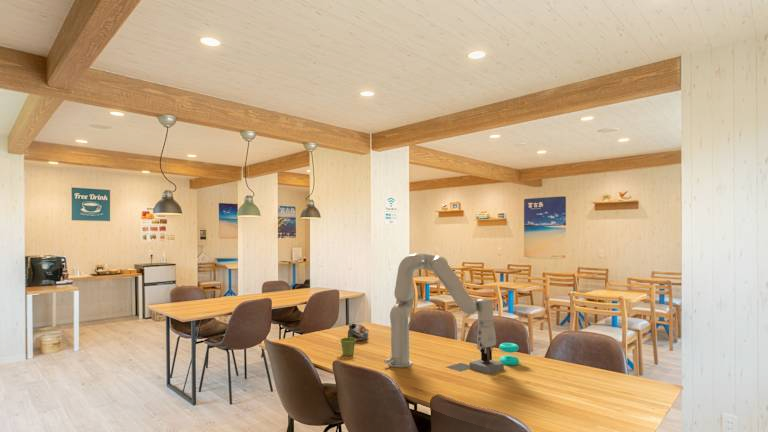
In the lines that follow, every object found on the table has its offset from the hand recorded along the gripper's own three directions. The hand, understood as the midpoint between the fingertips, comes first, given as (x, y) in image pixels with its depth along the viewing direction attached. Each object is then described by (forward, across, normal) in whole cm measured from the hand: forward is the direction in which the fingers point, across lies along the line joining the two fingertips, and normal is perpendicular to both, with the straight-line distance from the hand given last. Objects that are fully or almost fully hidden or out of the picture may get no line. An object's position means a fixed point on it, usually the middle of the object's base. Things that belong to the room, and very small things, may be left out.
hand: (486, 359), depth 222 cm
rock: (+5, -8, +98) cm, 98 cm away
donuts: (+5, +18, -1) cm, 19 cm away
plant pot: (+5, -35, +71) cm, 79 cm away
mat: (+5, -7, +11) cm, 14 cm away
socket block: (+5, 0, 0) cm, 5 cm away
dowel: (+3, 0, 0) cm, 3 cm away
